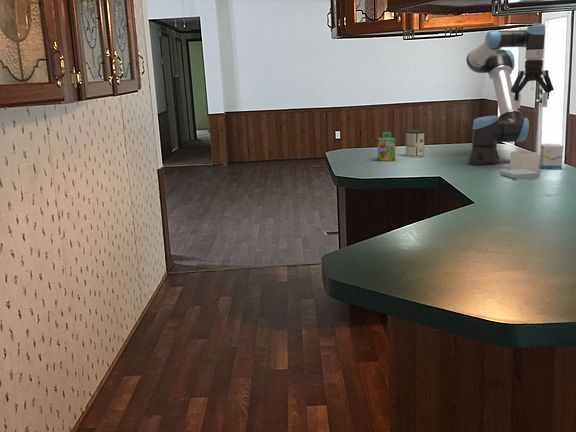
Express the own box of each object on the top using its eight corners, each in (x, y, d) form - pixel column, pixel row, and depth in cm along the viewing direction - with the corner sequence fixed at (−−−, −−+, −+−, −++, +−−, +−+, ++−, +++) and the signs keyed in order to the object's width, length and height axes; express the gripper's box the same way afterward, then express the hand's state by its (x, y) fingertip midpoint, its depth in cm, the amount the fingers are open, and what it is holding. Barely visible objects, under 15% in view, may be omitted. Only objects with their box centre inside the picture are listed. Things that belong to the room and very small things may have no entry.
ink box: (561, 171, 287) (563, 145, 285) (542, 170, 289) (544, 145, 286) (557, 168, 296) (559, 143, 293) (538, 168, 297) (540, 143, 295)
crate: (509, 171, 290) (511, 151, 288) (525, 170, 292) (526, 150, 290) (522, 174, 281) (523, 154, 279) (538, 173, 282) (539, 153, 280)
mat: (501, 176, 277) (501, 174, 276) (523, 175, 279) (523, 173, 279) (513, 180, 267) (513, 178, 267) (536, 178, 269) (537, 176, 269)
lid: (499, 176, 277) (499, 170, 277) (523, 175, 280) (523, 168, 279) (514, 181, 266) (514, 174, 265) (539, 179, 268) (539, 173, 268)
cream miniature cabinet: (409, 154, 354) (409, 129, 351) (426, 155, 349) (427, 129, 346) (402, 156, 346) (402, 131, 343) (420, 157, 340) (420, 131, 337)
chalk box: (377, 161, 331) (378, 133, 328) (377, 158, 340) (377, 131, 337) (395, 161, 330) (395, 133, 326) (394, 158, 339) (395, 131, 335)
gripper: (513, 59, 276) (510, 108, 281) (564, 58, 281) (560, 106, 286) (504, 60, 283) (501, 107, 288) (553, 59, 288) (550, 106, 293)
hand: (531, 107), depth 287 cm, fingers open, 13 cm apart
